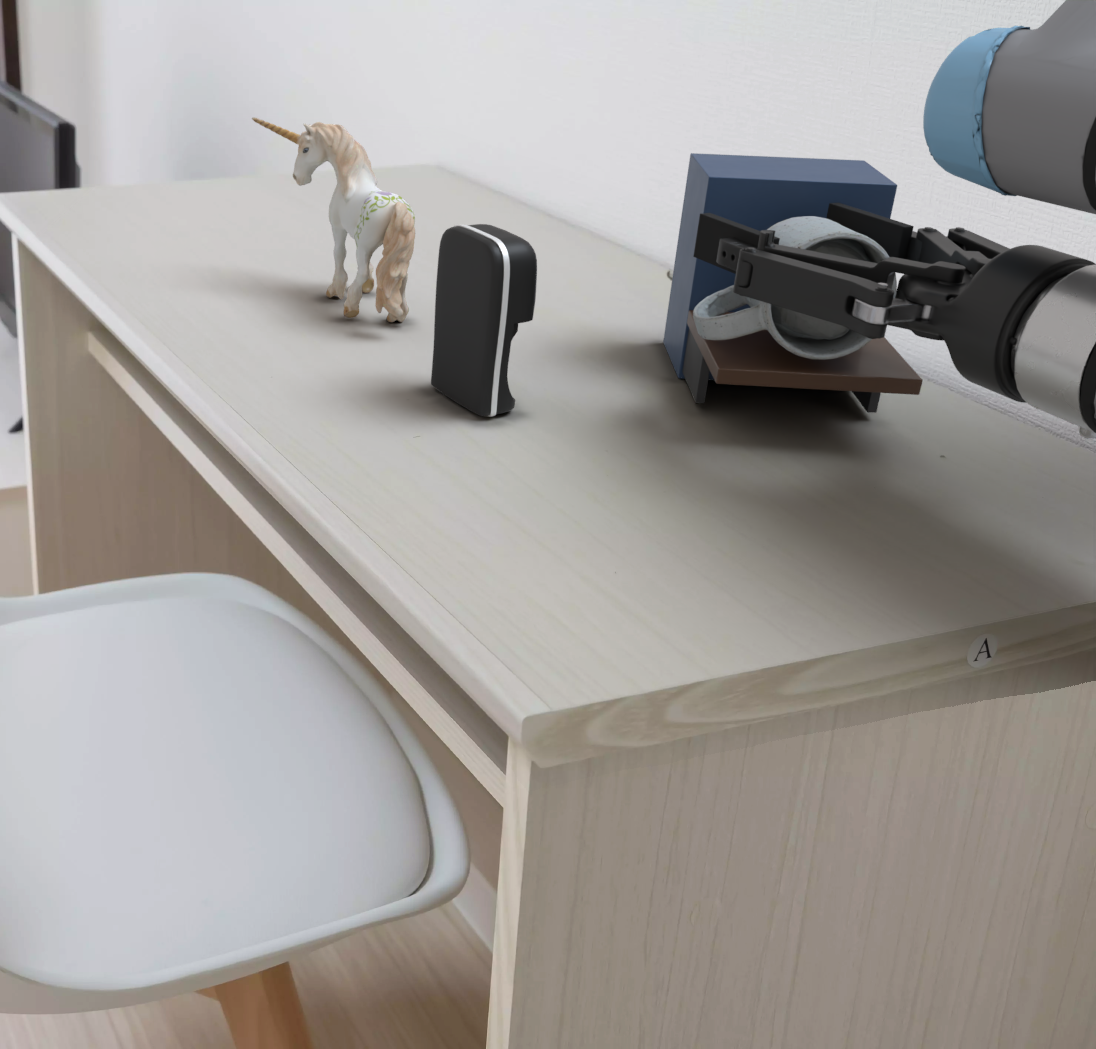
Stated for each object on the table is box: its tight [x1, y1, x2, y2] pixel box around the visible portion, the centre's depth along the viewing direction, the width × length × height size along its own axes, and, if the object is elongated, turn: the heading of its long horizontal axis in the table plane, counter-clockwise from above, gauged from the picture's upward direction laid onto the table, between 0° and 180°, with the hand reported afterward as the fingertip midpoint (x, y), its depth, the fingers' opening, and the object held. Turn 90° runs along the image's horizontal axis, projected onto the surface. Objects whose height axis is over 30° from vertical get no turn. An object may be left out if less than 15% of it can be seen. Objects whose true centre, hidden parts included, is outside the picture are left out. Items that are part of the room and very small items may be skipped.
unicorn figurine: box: [251, 116, 416, 323], centre depth 105 cm, size 7×20×13 cm, turn 34°
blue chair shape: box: [662, 152, 923, 414], centre depth 89 cm, size 12×20×14 cm, turn 174°
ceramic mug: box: [693, 216, 898, 360], centre depth 83 cm, size 11×8×8 cm
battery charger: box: [430, 223, 538, 417], centre depth 87 cm, size 7×4×11 cm, turn 26°
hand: (766, 229), depth 85 cm, fingers closed on ceramic mug, 9 cm apart
